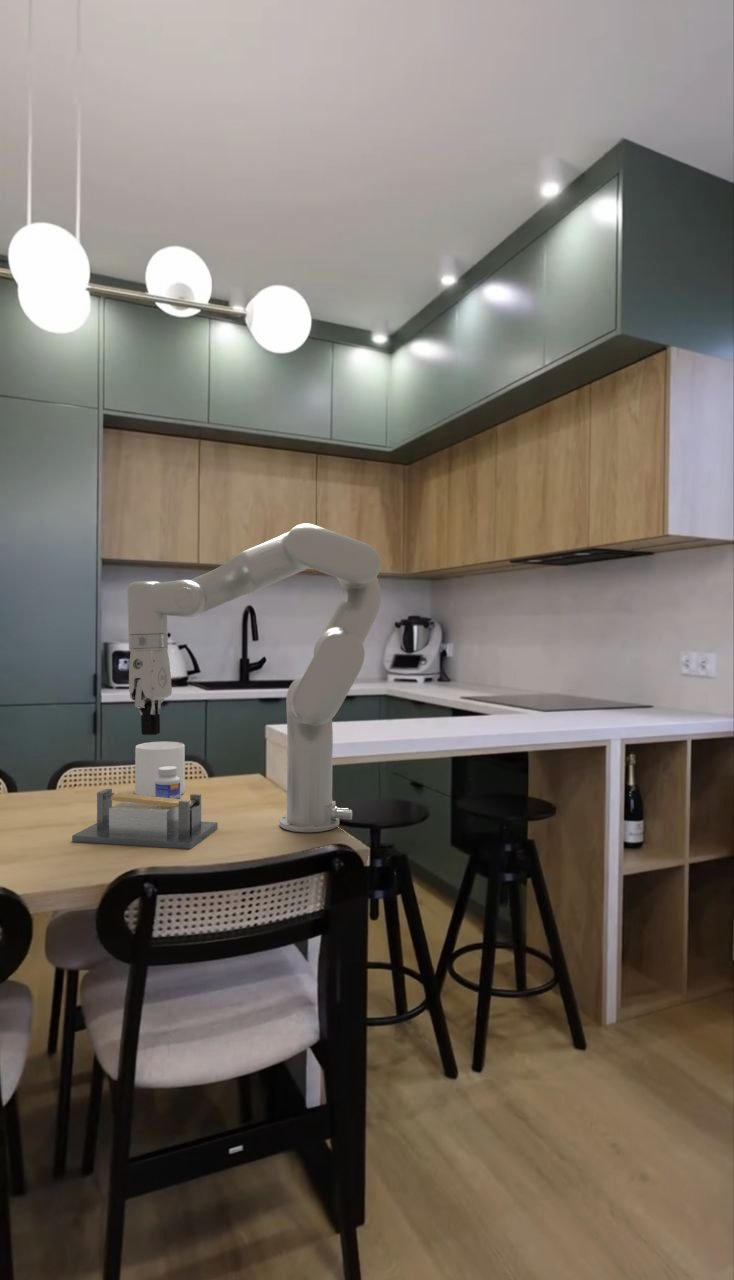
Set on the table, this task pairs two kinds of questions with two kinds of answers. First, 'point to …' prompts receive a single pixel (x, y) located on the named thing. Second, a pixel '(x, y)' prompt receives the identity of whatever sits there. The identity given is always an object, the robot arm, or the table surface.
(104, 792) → the base
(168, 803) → the strap
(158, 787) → the pill bottle
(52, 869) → the table surface
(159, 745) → the cup
